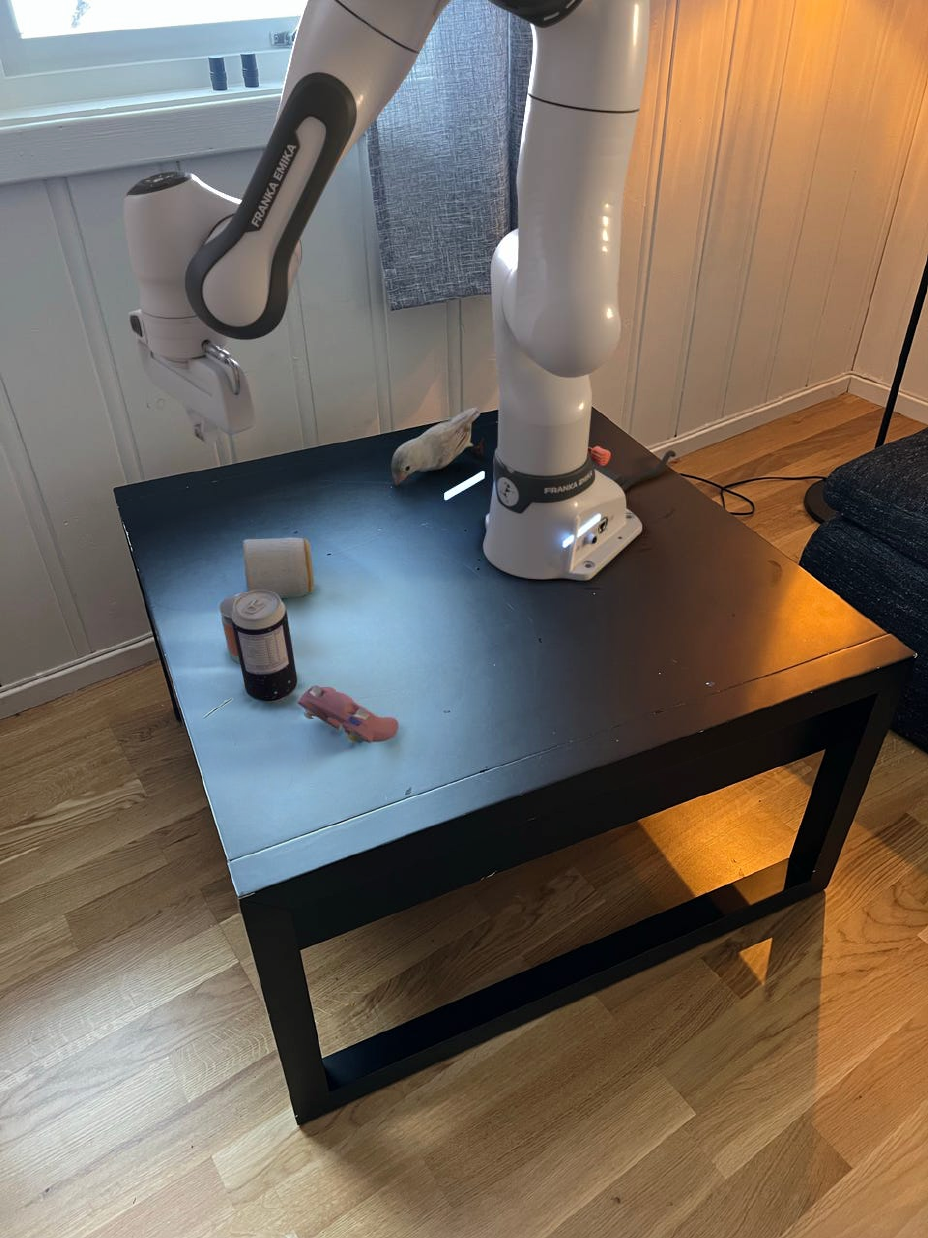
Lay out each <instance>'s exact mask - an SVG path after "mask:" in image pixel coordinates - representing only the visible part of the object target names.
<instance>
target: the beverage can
mask: <svg viewBox="0 0 928 1238" xmlns="http://www.w3.org/2000/svg"><path fill="white" fill-rule="evenodd" d="M243 593H244V594H242V595H240V596H239V597H238V598H237V599H236V600H235V601H234V603H233V611H232V613H231V622H232V627H233V632H234V637H235V641H236V646H237V651H238V656H239V661H240V665H239V666H240V671H241V675H242V680H243V684H244V689H245V692H246V694H247V695H248V696H249V697H250V698H252V699H253V700H256V701H259V702H262V703H269V704H270V703H277V702H280V701H282V700H284V699H285V698H287V697H288V696H289V695H290V694H292V693H293V692H294V691H295V689H296V688H297V686H298V676H297V669H296V662H295V655H294V649H293V642H292V637H291V630H290V623H289V618H288V611H287V607H286V605H285V604H284V602H282V598H281V599H280V597H279V596H278V595H277V594H276V593H274V592H272V591H269V590H253V591H249V592H247V591H246V592H243Z"/></svg>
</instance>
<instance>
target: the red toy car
mask: <svg viewBox="0 0 928 1238" xmlns="http://www.w3.org/2000/svg"><path fill="white" fill-rule="evenodd" d="M297 704H298V705H299V706H300V707H301V708H303V710H304V711H305V712H304V711H303V715H304V717H305V718H307V719H308V720H314V717H316V718H318V719H319V720H321V721H323V722H324V723H325V724H327V725H328V726H329V727H332V728H334V729H336V730H340V729H341V727H342V728H343V729H344V730H343V732H344V733H345V734H347V735H348V739H349V740H351V741H353V742H355V741H358V742H361V743H363V742H365V743H368V744H372V743H381V742H385V741H388V740H390V739H391V738H393V737H395V735H396V734H398V730H399V727H400V726H399V721H398V720H397V718H395V717H392V716H386V717H385V716H379V715H376V714H375V713H373V712H372V711H370V710H369V709H368V708H366V707H364V706H363V705H360V704H358V703H357V702H355V701H354V699H353V698H351V697H350V696H349V695H348V694H346V693H345V692H341V691H337V689H335V688H334V687H332V686H319V685H313V686H310V687H309V688H307V689H306V690H305V691H304V693H303V694H302V695H301V696H300V698H299V699H298V701H297Z"/></svg>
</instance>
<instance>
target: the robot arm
mask: <svg viewBox="0 0 928 1238" xmlns="http://www.w3.org/2000/svg"><path fill="white" fill-rule="evenodd" d="M487 1H488V2H489V3H491V4H492V5H494V6H496V7H498V8H499V9H501V10H504V11H505V12H508V13H510V14H512V15H514V16H515V17H518V18H520V19H522V20H524V21H526V22H528V23H529V24H530V28H531V33H532V34H531V35H532V57H531V66H530V67H531V68H530V74H529V82H528V89H527V96H526V103H525V111H524V118H523V126H522V133H521V140H520V148H519V156H518V163H517V170H516V178H515V179H516V180H515V181H516V192H517V218H518V219H517V228H516V229H514V230H512V231H511V232H509V233H508V234H507V235H504V237H503V238H502V239H501V241H500V242H499V243H498V245H497V246H496V248H495V250H494V251H493V255H492V258H491V262H490V286H491V287H490V288H491V289H490V290H491V311H492V329H493V343H494V344H493V345H494V355H495V357H494V358H495V369H496V378H497V379H496V380H497V389H498V390H497V392H498V393H497V394H498V395H497V397H498V412H497V414H498V415H497V447H496V448H495V450H494V453H493V454H494V455H493V459H492V460H493V461H492V464H493V473H492V474H493V476H492V477H493V484H492V493H491V499H490V506H489V513H487V514H486V516H485V521H484V525H485V530H486V531H485V532H486V533H485V535H484V539H483V543H482V550H483V553H484V556H485V557H486V559H487V560H488V561H489V563H491V564H492V565H493V566H494V567H495V568H497V569H499V570H501V571H502V572H504V573H507V574H509V575H511V576H515V577H519V578H524V579H531V580H555V579H566V580H567V579H568V580H572V581H573V580H575V581H581V582H583V581H590V580H591V579H592V578H594V577H595V576H596V575H597V574H598V573H599V572H600V571H601V570H602V569H603V568H605V567H606V566H607V565H608V564H609V563H610V562H611V561H612V560H613V559H614V558H615V557H616V556H617V555H618V554H619V553H620V552H622V551H623V550H624V549H625V548H626V547H627V546H628V545H629V544H630V543H631V542H632V541H634V539H636V538H637V537H638V536H639V535H640V534H641V533H642V532H643V524H642V522H641V520H640V518H639V517H637V515H636V514H634V512H632V511H631V510H629V508H627V499H626V494H625V491H627V490H628V489H630V488H631V487H632V486H633V485H634V484H635V483H637V482H640V481H642V480H645V479H648V478H651V477H654V476H656V475H657V474H659V473H660V472H661V471H662V470H663V469H664V468H665V466H666V465H667V463H668V462H669V460H670V458H674V457H676V456H677V453H676V452H675V451H674V450H671V449H670V450H668V451H666V452H665V454H664V455H663V457H662V458H661V460H660V462H659V463H658V465H657V466H656V467H655V468H653V469H651V470H649V471H647V472H643V473H640V474H638V475H635V476H633V477H631V478H630V479H628V480H627V481H626V482H625V483H624V484H622V485H621V483H622V474H620V473H618V472H615V471H614V470H613V471H612V470H610V469H608V468H605V467H604V466H606V465H607V464H608V463H609V461H610V459H611V456H612V455H611V452H610V451H609V450H608V449H604V448H602V447H601V446H599V445H596V446H594V447H593V448H592V447H590V446H589V440H590V439H589V438H590V429H591V416H592V405H593V391H592V385H591V380H590V374H592V373H594V372H595V371H596V370H599V369H600V368H601V367H602V366H604V364H606V362H607V361H608V360H609V359H610V358H611V357H612V355H613V354H614V353H615V350H616V348H617V346H618V344H619V341H620V337H621V332H622V323H621V315H620V307H619V281H620V280H619V279H620V266H621V246H622V245H621V244H622V243H621V242H622V219H623V217H622V215H623V202H624V195H625V189H626V188H625V187H626V180H627V175H628V170H629V165H630V161H631V156H632V155H631V154H632V149H633V144H634V140H635V135H636V129H637V123H638V119H639V115H640V108H641V104H642V98H643V92H644V87H645V79H646V74H647V73H646V71H647V64H648V55H649V42H650V41H649V40H650V26H651V25H650V24H651V23H650V22H651V21H650V20H651V1H650V0H487ZM451 2H452V0H306V2H305V4H304V8H303V10H302V13H301V16H300V19H299V23H298V26H297V29H296V32H295V36H294V41H293V45H292V49H291V53H290V56H289V62H288V65H287V71H286V75H285V79H284V84H283V88H282V93H281V97H280V103H279V106H278V110H277V114H276V117H275V121H274V124H273V127H272V131H271V134H270V136H269V139H268V141H267V142H268V143H267V144H266V147H265V149H264V151H263V153H262V155H261V157H260V158H259V162H258V164H257V166H256V168H255V170H254V172H253V174H252V177H251V179H250V181H249V183H248V185H247V186H246V190H245V191H244V194H243V195H242V197H241V199H238V198H236V197H233V196H230V195H227V194H225V193H223V192H220V191H218V190H216V189H215V188H213V187H211V186H209V185H207V184H206V183H204V182H203V181H202V180H200V179H199V177H197V176H196V175H195V174H193V173H191V172H187V171H179V170H175V171H167V172H161V173H157V174H154V175H151V176H149V177H146V178H143V179H141V180H139V181H138V182H136V183H135V184H134V185H133V186H132V187H131V188H130V189H129V190H128V191H127V193H126V195H125V196H124V199H123V224H124V231H125V239H126V244H127V250H128V256H129V260H130V266H131V269H132V272H133V274H134V276H135V277H136V279H137V282H138V285H139V290H140V291H139V292H140V295H139V307H140V308H139V309H136V310H133V311H130V312H128V313H127V315H126V317H127V322H128V325H129V329H130V330H131V331H132V332H133V333H135V334H134V335H135V343H136V346H137V350H138V355H139V358H140V361H141V364H142V368H143V370H144V373H145V374H146V377H147V379H148V381H149V382H150V383H151V384H152V385H154V386H156V387H158V388H159V389H160V390H162V391H163V392H165V393H166V394H167V395H169V396H171V397H172V398H173V399H175V400H177V401H178V402H180V403H181V404H182V408H183V410H184V412H185V414H186V416H187V418H188V420H189V422H190V424H191V429H192V433H193V435H194V436H195V437H197V438H198V439H199V440H200V441H202V442H203V443H204V444H205V445H211V444H214V443H217V442H218V441H219V433H218V429H219V430H220V431H221V432H223V433H225V434H226V435H229V436H231V435H236V434H238V433H242V432H244V431H247V430H250V429H251V428H253V427H254V425H255V422H256V413H255V409H254V404H253V400H252V399H253V398H252V395H251V394H252V393H251V391H250V386H249V382H248V379H247V376H246V373H245V371H244V369H243V368H242V366H241V365H240V363H238V362H237V361H235V360H234V359H232V355H231V354H230V353H229V352H228V351H226V350H225V349H224V348H225V346H226V345H227V343H228V341H229V338H230V339H234V340H238V341H239V340H240V341H252V340H256V339H261V338H263V337H265V336H266V335H269V334H270V333H272V332H273V331H274V330H275V329H276V328H277V327H278V326H279V325H280V323H281V322H282V320H283V318H284V316H285V313H286V309H287V306H288V301H289V296H290V294H291V291H292V288H293V286H294V283H295V280H296V278H297V275H298V273H299V270H300V266H301V264H302V259H303V245H302V241H301V237H302V235H303V233H304V231H305V229H306V226H307V225H308V222H309V221H310V219H311V216H312V214H313V213H314V211H315V208H316V207H317V204H318V203H319V200H320V198H321V197H322V194H323V192H324V190H325V189H326V187H327V184H328V182H329V180H330V179H331V177H332V176H333V175H334V173H335V171H336V170H337V169H338V167H339V165H340V164H341V162H342V161H343V160H344V158H345V157H346V156H347V155H348V153H349V152H350V150H351V149H352V148H353V147H354V146H355V144H356V143H357V142H358V141H359V140H360V138H361V137H362V136H363V135H364V134H365V133H366V131H368V130H369V128H370V127H371V125H372V124H373V123H374V122H375V121H376V119H377V118H378V117H379V116H380V115H381V113H382V112H383V111H384V110H385V109H386V107H387V106H388V105H389V103H390V102H391V101H392V99H393V98H394V96H395V95H396V94H397V92H398V90H399V89H400V87H401V86H402V84H403V83H404V81H405V80H406V78H407V77H408V75H409V73H410V72H411V70H412V68H413V67H414V65H415V63H416V61H417V59H418V57H419V56H420V53H421V51H422V50H423V47H424V46H425V44H426V42H427V39H428V38H429V36H430V33H431V31H432V30H433V28H434V26H435V24H436V22H437V21H438V19H439V17H440V15H441V14H442V12H443V11H444V10H445V8H446V7H447V6H448V5H449V4H450V3H451ZM593 462H595V463H597V464H595V463H593ZM483 479H485V471H484V470H483V471H480V472H478V473H477V474H475V475H474V476H472V477H470V478H468V479H467V480H465V481H463V482H462V483H460V484H458V485H456V486H454V487H453V488H451V489H449V490H447V491H446V492H445V493H444V500H445V501H447V500H449V499H451V498H452V497H454V496H455V495H457V494H459V493H462V491H465V490H466V489H469V488H470V487H471V486H473V485H475V484H476V483H478V482H480V481H482V480H483Z"/></svg>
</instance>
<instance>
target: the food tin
mask: <svg viewBox="0 0 928 1238" xmlns="http://www.w3.org/2000/svg"><path fill="white" fill-rule="evenodd" d="M244 593H245V592H239V593H233V594H232V595H231V594H230V595H229V596H227V597H226V598H224V599H223V600H222V602H220V606H219V612H220V616H221V619H220V620H221V623H222V628H223V633H224V637H225V643H226V646H227V650H228V654H229V658H230V659H231V661H232V662H233V663H234V664H236V665H238V666H240V661H239V656H238V651H237V646H236V641H235V637H234V632H233V627H232V622H231V613H232V611H233V603H234V601H235V600H236V599H237V598H238V597H239V596H240V595H242V594H244Z"/></svg>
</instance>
